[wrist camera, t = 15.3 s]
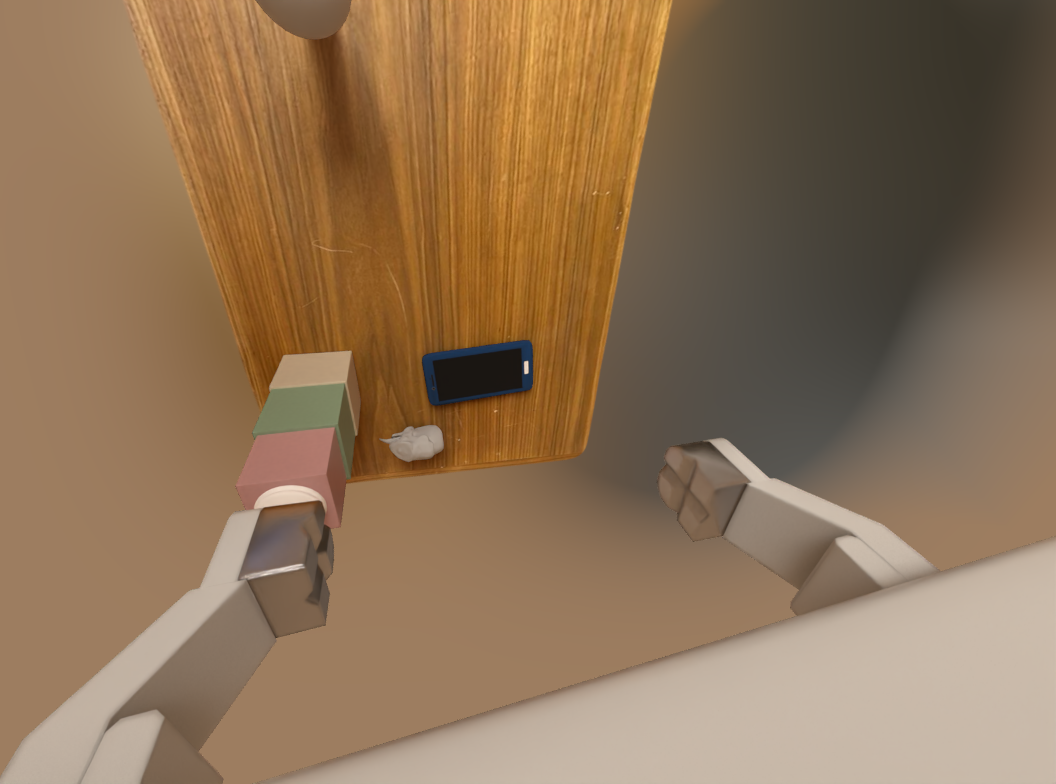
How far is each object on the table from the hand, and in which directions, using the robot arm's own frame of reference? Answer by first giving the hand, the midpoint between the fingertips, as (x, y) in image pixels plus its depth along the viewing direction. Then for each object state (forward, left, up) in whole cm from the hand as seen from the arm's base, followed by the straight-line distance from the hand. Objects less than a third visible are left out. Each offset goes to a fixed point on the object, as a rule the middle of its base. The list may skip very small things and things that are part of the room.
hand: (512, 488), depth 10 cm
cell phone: (+20, -2, -39) cm, 44 cm away
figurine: (+24, -14, -39) cm, 48 cm away
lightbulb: (-16, 0, -39) cm, 42 cm away
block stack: (+12, -18, -39) cm, 45 cm away
